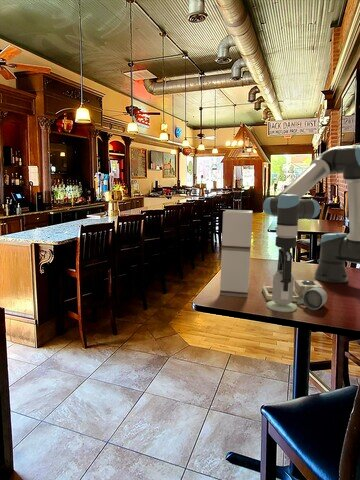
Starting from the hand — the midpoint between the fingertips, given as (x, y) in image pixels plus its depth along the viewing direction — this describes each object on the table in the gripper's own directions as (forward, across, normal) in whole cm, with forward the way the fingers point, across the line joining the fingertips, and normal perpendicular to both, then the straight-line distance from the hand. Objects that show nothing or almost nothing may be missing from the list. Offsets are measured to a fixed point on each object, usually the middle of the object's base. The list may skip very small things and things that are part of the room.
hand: (282, 295), depth 139 cm
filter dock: (+5, -14, +6) cm, 16 cm away
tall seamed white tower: (+5, -16, -17) cm, 24 cm away
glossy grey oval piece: (+3, -14, +13) cm, 19 cm away
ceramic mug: (+5, -3, +12) cm, 13 cm away
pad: (+5, 0, 0) cm, 5 cm away
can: (+3, 0, 0) cm, 3 cm away
